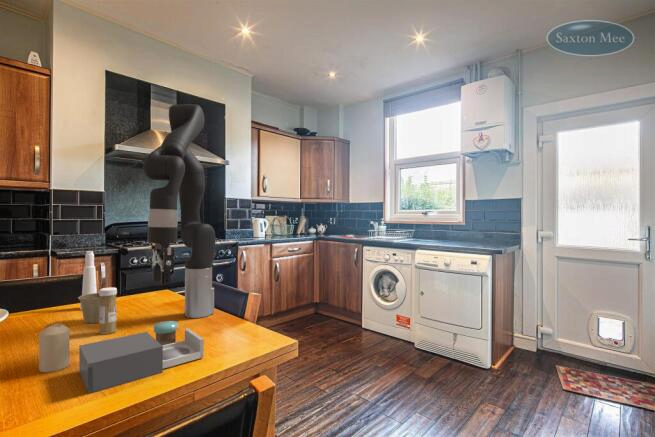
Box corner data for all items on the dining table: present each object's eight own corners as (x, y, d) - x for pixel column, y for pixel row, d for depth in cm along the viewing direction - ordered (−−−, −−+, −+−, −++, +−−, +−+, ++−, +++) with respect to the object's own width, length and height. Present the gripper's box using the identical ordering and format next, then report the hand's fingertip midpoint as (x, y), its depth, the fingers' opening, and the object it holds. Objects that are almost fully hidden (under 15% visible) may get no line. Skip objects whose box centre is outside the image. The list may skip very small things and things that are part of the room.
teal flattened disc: (173, 325, 98) (173, 319, 98) (180, 330, 93) (180, 324, 93) (150, 329, 94) (150, 323, 94) (157, 335, 89) (157, 329, 89)
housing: (146, 355, 86) (146, 331, 86) (162, 372, 77) (162, 346, 77) (79, 371, 77) (79, 345, 77) (88, 393, 67) (88, 364, 67)
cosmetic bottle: (91, 310, 126) (91, 252, 126) (75, 310, 126) (76, 252, 126) (102, 306, 132) (102, 250, 132) (87, 306, 132) (87, 250, 132)
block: (170, 340, 96) (170, 326, 96) (175, 344, 93) (175, 330, 93) (155, 343, 94) (155, 329, 94) (160, 348, 91) (160, 333, 91)
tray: (187, 345, 92) (187, 328, 92) (203, 357, 84) (203, 339, 84) (136, 358, 83) (136, 339, 83) (148, 372, 76) (148, 352, 76)
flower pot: (71, 323, 111) (71, 297, 111) (99, 315, 120) (99, 291, 120) (89, 326, 108) (90, 299, 108) (117, 318, 117) (118, 293, 117)
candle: (50, 362, 81) (50, 321, 81) (74, 362, 82) (74, 321, 82) (32, 373, 76) (32, 329, 76) (58, 372, 76) (58, 328, 76)
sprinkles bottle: (116, 332, 102) (117, 289, 102) (98, 335, 100) (99, 290, 100) (116, 328, 106) (116, 286, 106) (99, 331, 104) (99, 287, 104)
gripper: (185, 226, 92) (183, 285, 91) (169, 225, 103) (168, 278, 102) (155, 225, 87) (153, 288, 87) (142, 225, 98) (140, 280, 97)
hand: (161, 283), depth 94 cm, fingers open, 8 cm apart
